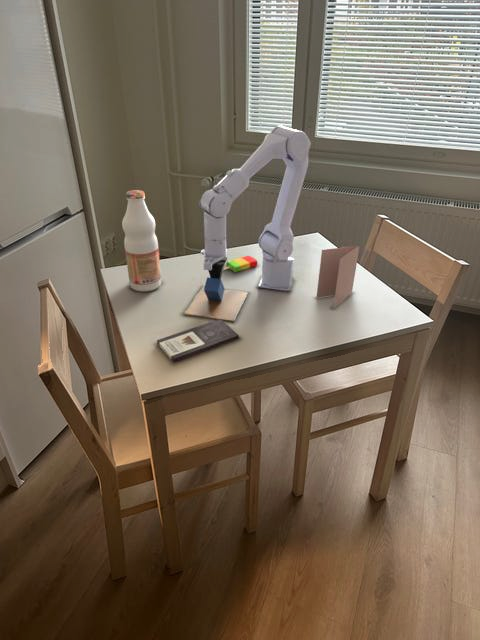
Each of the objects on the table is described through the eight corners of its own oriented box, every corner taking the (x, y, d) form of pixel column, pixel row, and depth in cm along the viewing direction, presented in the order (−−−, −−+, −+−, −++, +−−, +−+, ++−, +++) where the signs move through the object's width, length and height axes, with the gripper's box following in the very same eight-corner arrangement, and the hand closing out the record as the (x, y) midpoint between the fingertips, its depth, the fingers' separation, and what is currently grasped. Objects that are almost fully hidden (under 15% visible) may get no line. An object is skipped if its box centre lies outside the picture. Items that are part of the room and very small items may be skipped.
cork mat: (248, 293, 133) (248, 292, 133) (234, 321, 120) (234, 320, 120) (202, 287, 136) (202, 286, 136) (184, 314, 123) (184, 313, 123)
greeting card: (350, 291, 135) (358, 244, 127) (363, 303, 129) (371, 254, 121) (315, 296, 132) (320, 248, 124) (326, 309, 126) (332, 259, 118)
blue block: (224, 288, 130) (221, 278, 124) (221, 301, 128) (217, 291, 123) (211, 287, 131) (207, 277, 125) (208, 299, 129) (203, 290, 124)
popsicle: (258, 265, 149) (258, 260, 148) (219, 277, 142) (219, 271, 141) (249, 259, 153) (249, 254, 152) (210, 270, 145) (210, 265, 144)
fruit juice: (123, 288, 135) (109, 194, 120) (142, 275, 142) (131, 185, 127) (149, 295, 132) (139, 199, 117) (167, 281, 139) (159, 190, 124)
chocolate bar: (238, 335, 113) (173, 359, 105) (238, 338, 113) (173, 362, 105) (220, 318, 119) (156, 340, 111) (220, 321, 120) (157, 343, 111)
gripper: (209, 225, 127) (210, 269, 134) (191, 245, 115) (193, 292, 122) (233, 228, 125) (233, 272, 133) (218, 248, 114) (218, 296, 121)
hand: (215, 282), depth 127 cm, fingers closed, pressing on blue block
